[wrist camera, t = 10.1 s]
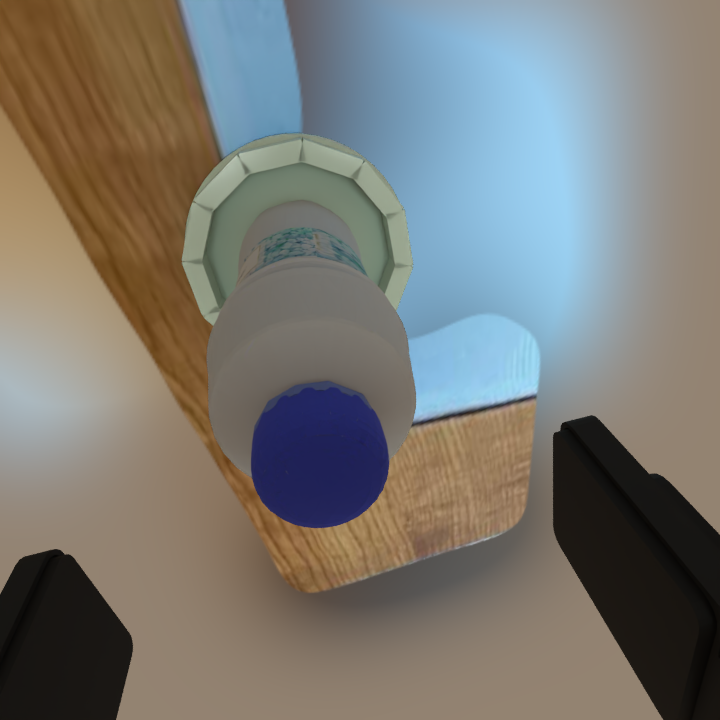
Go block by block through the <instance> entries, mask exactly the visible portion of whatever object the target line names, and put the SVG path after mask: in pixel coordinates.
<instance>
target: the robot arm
mask: <svg viewBox="0 0 720 720" xmlns="http://www.w3.org/2000/svg"><path fill="white" fill-rule="evenodd" d="M553 527H554V533H555V536H556V539H557V541H558V543H559V545H560V547H561V549H562V551H563V552H564V554H565V556H566V557H567V559H568V561H569V562H570V564H571V566H572V567H573V569H574V571H575V572H576V574H577V576H578V577H579V579H580V581H581V582H582V584H583V586H584V587H585V589H586V591H587V593H588V594H589V596H590V598H591V599H592V601H593V603H594V604H595V606H596V608H597V609H598V611H599V613H600V614H601V616H602V618H603V619H604V621H605V623H606V624H607V626H608V628H609V630H610V631H611V633H612V635H613V636H614V638H615V640H616V641H617V643H618V645H619V646H620V648H621V650H622V651H623V653H624V655H625V657H626V658H627V660H628V661H629V663H630V665H631V667H632V668H633V670H634V672H635V673H636V675H637V677H638V678H639V680H640V682H641V684H642V685H643V687H644V689H645V690H646V692H647V694H648V695H649V697H650V699H651V700H652V702H653V703H654V705H655V707H656V709H657V710H658V712H659V714H660V715H661V717H662V718H663V720H720V535H719V534H718V532H717V531H716V530H715V529H714V528H713V527H712V526H711V525H710V524H709V523H708V522H707V521H706V520H705V519H704V518H703V517H702V516H701V515H700V514H699V513H698V512H697V510H696V509H695V508H694V507H693V506H692V505H691V504H690V503H689V502H688V501H687V500H686V499H685V498H684V497H683V496H682V495H681V494H680V493H679V492H678V490H677V489H676V488H675V487H674V486H673V485H672V484H671V483H670V482H669V481H667V480H666V479H665V478H664V477H663V476H661V475H658V474H649V473H648V472H647V471H646V470H645V469H644V468H643V467H642V466H641V465H640V464H639V463H638V462H637V461H636V459H635V458H634V457H633V456H632V455H631V454H630V453H629V452H628V451H627V449H626V448H625V447H624V446H623V445H622V444H621V443H620V442H619V441H618V440H617V439H616V438H615V436H614V435H612V433H611V432H610V431H609V430H608V429H607V428H606V427H605V426H604V424H603V423H602V422H601V421H600V420H598V418H596V417H595V416H592V415H591V416H587V417H584V418H579V419H575V420H571V421H567V422H564V423H562V425H561V430H560V431H559V432H555V433H554V435H553ZM132 652H133V643H132V638H131V635H130V633H129V632H128V631H127V629H126V628H125V626H124V625H123V624H122V623H121V621H120V620H119V618H118V617H117V616H116V614H115V613H114V612H113V610H112V609H111V608H110V606H109V605H108V604H107V602H106V601H105V600H104V598H103V597H102V595H101V594H100V593H99V591H98V590H97V589H96V587H95V586H94V585H93V583H92V582H91V581H90V579H89V578H88V577H87V575H86V574H85V572H84V571H83V570H82V568H81V567H80V566H79V564H78V563H77V562H76V560H75V559H74V558H73V557H72V556H71V555H69V554H68V555H65V554H64V553H63V552H62V551H61V550H58V549H54V550H49V551H45V552H42V553H37V554H33V555H29V556H25V557H23V558H22V559H20V560H19V561H18V563H17V564H16V565H15V567H14V569H13V571H12V573H11V575H10V577H9V579H8V581H7V583H6V585H5V587H4V588H3V590H2V592H1V594H0V720H116V718H117V713H118V710H119V706H120V701H121V697H122V693H123V689H124V685H125V681H126V677H127V673H128V669H129V665H130V661H131V657H132Z"/></svg>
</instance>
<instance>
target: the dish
mask: <svg viewBox="0 0 720 720" xmlns="http://www.w3.org/2000/svg"><path fill="white" fill-rule="evenodd" d="M297 200H307V201H312V202H315V203H317V204H319V205H321V206H323V207H325V208H327V209H329V210H331V211H332V212H333V213H335V214H336V215H337V216H339V217H340V218H341V219H342V220H343V221H344V222H345V223H346V224H347V225H348V227H349V228H350V230H351V232H352V234H353V236H354V238H355V239H356V242H357V244H358V247H359V251H360V255H361V259H362V264H363V267H364V269H365V271H366V273H367V276H368V278H370V279H371V280H372V281H373V282H374V283H375V284H376V285H377V286H378V287H379V288H380V289H381V290H382V291H383V293H384V294H385V295H386V297H387V298H388V300H389V301H390V303H391V305H392V306H393V307H394V309H395V310H397V307H398V305H399V302H400V300H401V297H402V295H403V292H404V289H405V287H406V284H407V282H408V279H409V276H410V274H411V271H412V268H413V266H412V265H413V260H412V254H411V247H410V241H409V234H408V228H407V222H406V216H405V210H404V209H403V208H404V207H403V206H402V205H401V204H400V202H399V201H398V198H397V196H396V195H395V193H394V191H393V189H392V187H391V186H390V184H389V183H388V182H387V180H386V179H385V177H384V176H383V175H382V174H381V173H380V172H379V171H378V170H377V169H376V168H375V166H374V165H373V164H371V163H370V162H369V161H367V160H366V159H365V158H364V157H363V156H362V155H360V154H359V153H357V152H356V151H354V150H352V149H351V148H349V147H347V146H346V145H343V144H341V143H338V142H336V141H334V140H331V139H328V138H324V137H321V136H317V135H310V134H302V133H285V134H279V135H272V136H267V137H264V138H261V139H258V140H255V141H252V142H250V143H248V144H246V145H244V146H242V147H240V148H238V149H237V150H235V151H234V152H232V153H231V154H229V155H228V156H227V157H225V158H224V159H223V160H222V161H221V162H220V163H219V164H218V165H217V166H215V168H214V169H213V170H212V171H211V173H210V174H209V175H208V176H207V177H206V179H205V180H204V181H203V183H202V185H201V186H200V188H199V190H198V191H197V193H196V195H195V198H194V200H193V202H192V205H191V207H190V211H189V215H188V218H187V222H186V231H185V245H184V250H183V255H182V265H183V267H184V270H185V272H186V275H187V278H188V280H189V283H190V285H191V288H192V291H193V293H194V296H195V298H196V301H197V304H198V306H199V309H200V311H201V314H202V316H204V317H203V318H205V319H206V320H207V321H208V322H209V323H211V324H212V325H213V326H214V324H215V322H216V320H217V318H218V315H219V312H220V310H221V308H222V307H223V305H224V303H225V301H226V299H227V298H228V297H229V296H230V294H231V293H232V292H233V290H234V289H235V287H236V283H237V279H238V263H239V253H240V249H241V245H242V241H243V239H244V237H245V235H246V233H247V231H248V229H249V228H250V226H251V225H252V223H253V222H254V221H255V219H256V218H257V217H258V216H259V215H260V214H261V213H262V212H263V211H265V210H266V209H268V208H271V207H274V206H277V205H280V204H282V203H287V202H292V201H297Z"/></svg>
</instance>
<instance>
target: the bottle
mask: <svg viewBox="0 0 720 720" xmlns="http://www.w3.org/2000/svg"><path fill="white" fill-rule="evenodd" d="M207 369H208V401H209V418H210V422H211V426H212V429H213V433H214V436H215V439H216V440H217V442H218V444H219V446H220V447H221V449H222V451H223V453H224V454H225V455H226V456H227V457H228V458H229V459H230V460H231V462H232V463H233V464H234V465H235V466H236V467H237V468H238V469H240V470H241V471H242V472H244V473H245V474H247V475H248V476H249V477H251V478H252V479H253V483H254V486H255V489H256V491H257V493H258V495H259V496H260V499H261V501H262V502H263V503H264V504H265V505H266V507H267V508H268V509H269V510H270V511H271V512H273V513H275V514H276V515H277V516H279V517H280V518H282V519H283V520H285V521H288V522H290V523H292V524H295V525H299V526H303V527H310V528H326V527H332V526H337V525H340V524H343V523H346V522H348V521H350V520H352V519H354V518H356V517H358V516H359V515H361V514H362V513H363V512H365V511H366V510H367V509H368V508H369V507H370V506H371V505H372V504H373V503H374V502H375V501H376V500H377V498H378V496H379V494H380V493H381V492H382V490H383V488H384V484H385V482H386V480H387V475H388V469H389V460H390V459H391V458H392V457H393V456H394V455H395V454H396V453H397V451H398V450H399V448H400V447H401V445H402V444H403V442H404V441H405V439H406V438H407V435H408V433H409V430H410V428H411V425H412V423H413V418H414V414H415V409H416V391H415V384H414V378H413V373H412V367H411V362H410V357H409V347H408V340H407V335H406V331H405V328H404V326H403V323H402V321H401V319H400V317H399V315H398V314H397V312H396V310H395V309H394V307H393V306H392V305H391V303H390V301H389V300H388V298H387V297H386V295H385V294H384V293H383V291H382V290H381V289H380V288H379V287H378V286H377V285H376V284H375V283H374V282H373V281H372V280H371V279H370V278H368V276H367V273H366V271H365V269H364V267H363V264H362V259H361V255H360V251H359V247H358V244H357V242H356V239H355V238H354V236H353V234H352V232H351V230H350V228H349V227H348V225H347V224H346V223H345V222H344V221H343V220H342V219H341V218H340V217H339V216H337V215H336V214H335V213H333V212H332V211H331V210H329V209H327V208H325V207H323V206H321V205H319V204H317V203H315V202H312V201H307V200H297V201H292V202H287V203H282V204H280V205H277V206H274V207H271V208H268V209H266V210H265V211H263V212H262V213H261V214H260V215H259V216H258V217H257V218H256V219H255V221H254V222H253V223H252V225H251V226H250V228H249V229H248V231H247V233H246V235H245V237H244V239H243V241H242V245H241V249H240V253H239V263H238V279H237V283H236V287H235V289H234V290H233V292H232V293H231V294H230V296H229V297H228V298H227V299H226V301H225V303H224V305H223V307H222V308H221V310H220V312H219V315H218V318H217V320H216V322H215V324H214V326H213V328H212V331H211V334H210V337H209V342H208V346H207Z"/></svg>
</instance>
